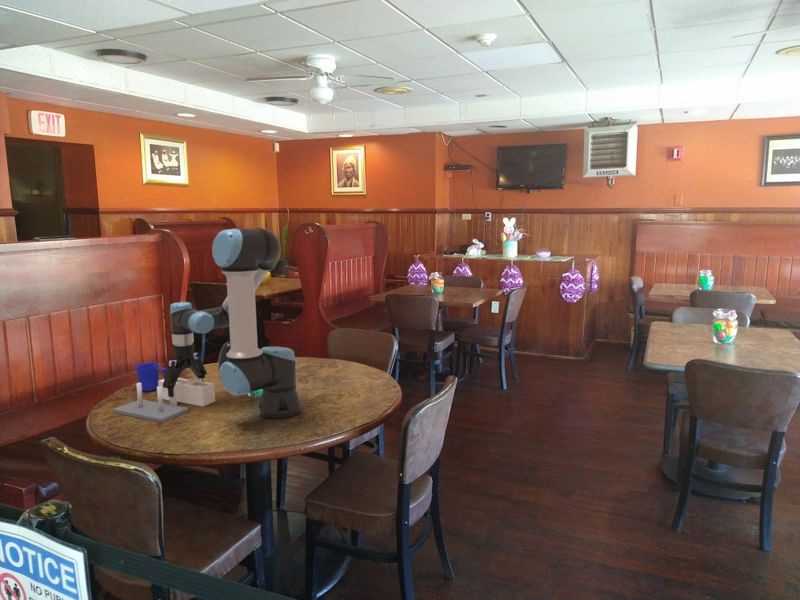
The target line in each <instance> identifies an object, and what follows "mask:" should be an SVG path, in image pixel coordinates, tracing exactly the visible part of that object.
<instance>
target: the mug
mask: <svg viewBox="0 0 800 600" xmlns="http://www.w3.org/2000/svg"><path fill="white" fill-rule="evenodd" d="M135 369H136V375H137V381H138V382H137V383H141V386H142V392H151V391H155V390H157V387H158V386H159V384H158V381H159V371H160V370H162V371H163V372H162V373H163V377H162V378H163V379H165V375H166V371H167V367H166V368H165V367H161V366H159V363H157V362H145V363H140V364H137V365H136V366H135Z"/></svg>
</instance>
